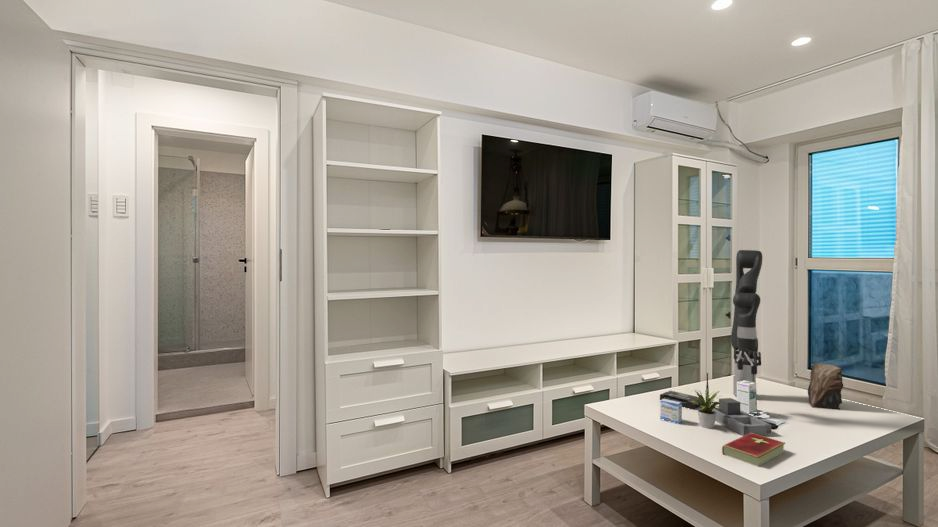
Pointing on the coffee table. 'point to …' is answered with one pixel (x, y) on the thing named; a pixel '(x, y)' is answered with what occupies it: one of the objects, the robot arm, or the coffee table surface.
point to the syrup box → (747, 396)
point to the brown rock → (825, 386)
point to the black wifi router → (683, 398)
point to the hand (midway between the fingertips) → (747, 372)
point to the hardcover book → (753, 449)
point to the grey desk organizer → (740, 419)
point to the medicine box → (671, 410)
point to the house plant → (707, 410)
